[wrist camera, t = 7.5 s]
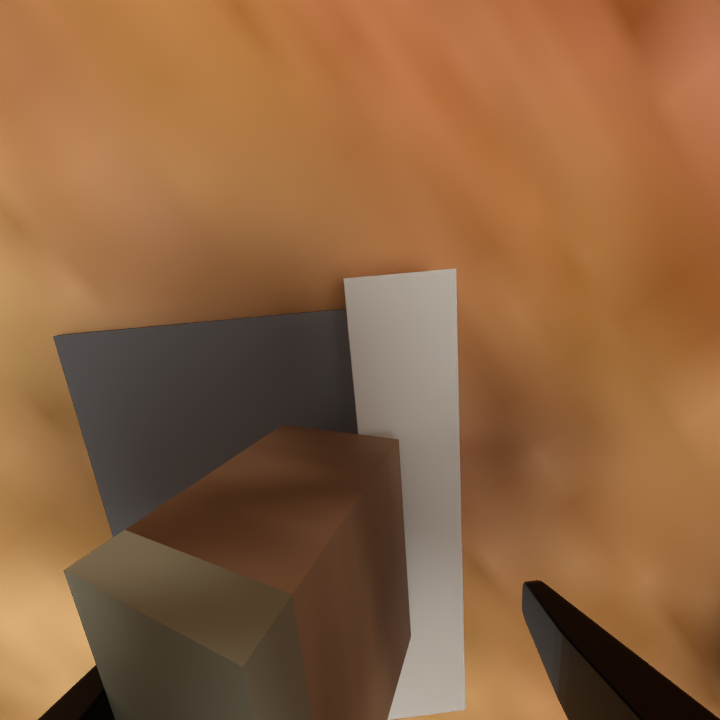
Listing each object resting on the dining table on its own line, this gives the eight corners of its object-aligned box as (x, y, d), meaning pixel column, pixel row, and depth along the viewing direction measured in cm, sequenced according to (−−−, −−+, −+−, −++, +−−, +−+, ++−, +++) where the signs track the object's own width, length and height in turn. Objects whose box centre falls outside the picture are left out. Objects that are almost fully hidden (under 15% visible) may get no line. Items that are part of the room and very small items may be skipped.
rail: (428, 272, 12) (455, 268, 9) (442, 628, 15) (465, 709, 12) (343, 280, 12) (343, 278, 9) (377, 636, 15) (385, 720, 12)
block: (398, 439, 9) (243, 666, 4) (410, 636, 11) (311, 986, 6) (282, 424, 11) (63, 570, 6) (307, 597, 12) (155, 836, 7)
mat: (346, 308, 12) (346, 309, 12) (375, 619, 15) (376, 626, 15) (60, 334, 12) (53, 336, 11) (151, 646, 15) (148, 653, 14)
